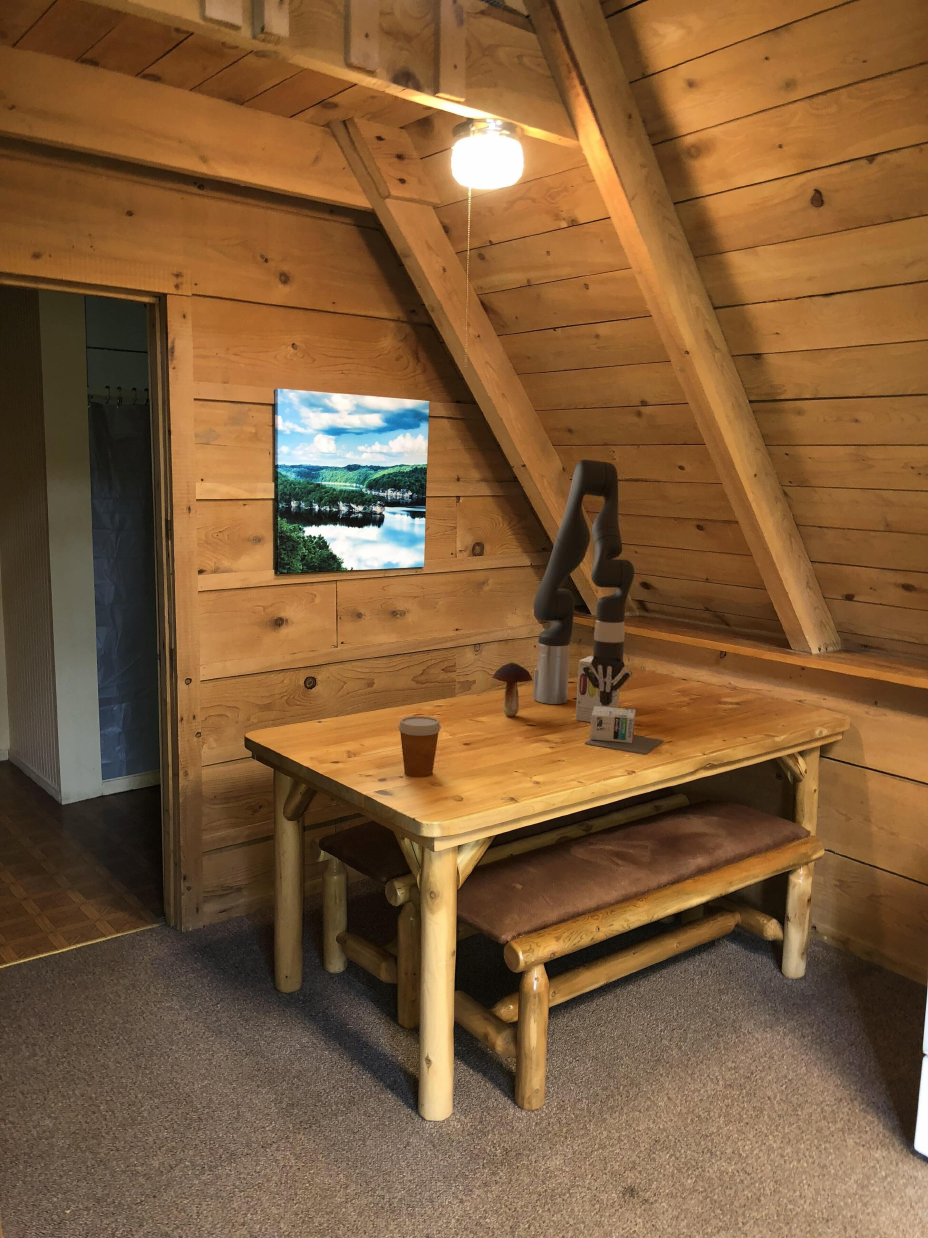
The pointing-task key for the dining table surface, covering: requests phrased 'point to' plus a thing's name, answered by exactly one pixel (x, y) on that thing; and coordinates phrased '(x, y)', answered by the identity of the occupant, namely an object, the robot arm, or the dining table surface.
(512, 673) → the decorative mushroom
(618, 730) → the light bulb box
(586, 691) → the supplement box
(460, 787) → the dining table surface
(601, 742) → the mat
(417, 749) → the disposable coffee cup
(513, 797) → the dining table surface
